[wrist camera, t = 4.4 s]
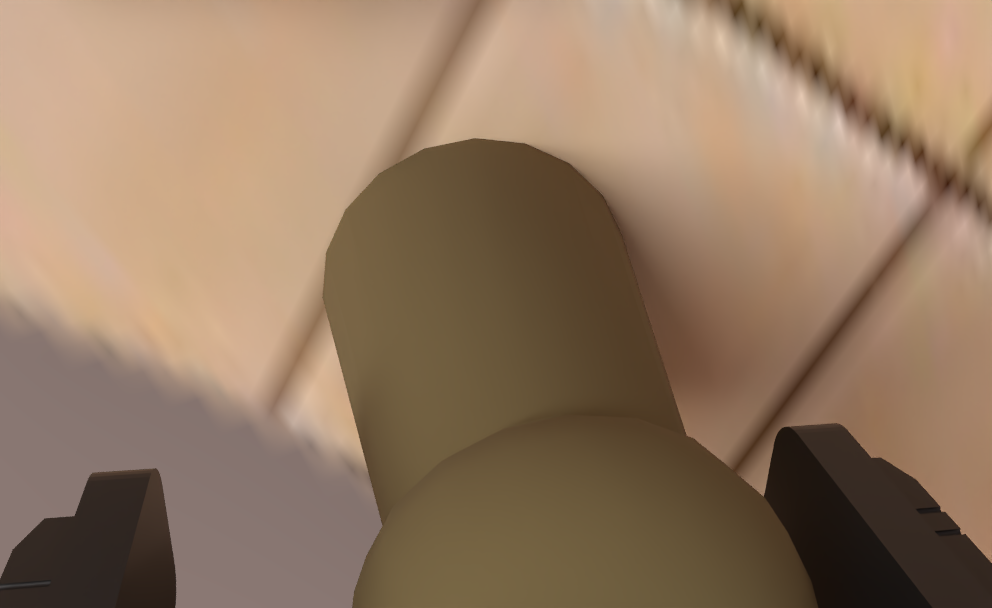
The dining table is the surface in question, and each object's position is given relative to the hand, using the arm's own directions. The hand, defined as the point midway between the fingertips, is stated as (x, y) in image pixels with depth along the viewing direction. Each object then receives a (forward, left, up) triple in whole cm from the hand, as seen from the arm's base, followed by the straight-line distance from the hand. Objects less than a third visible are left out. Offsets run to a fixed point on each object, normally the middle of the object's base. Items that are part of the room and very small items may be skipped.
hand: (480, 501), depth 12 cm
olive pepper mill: (-1, 0, -7) cm, 7 cm away
